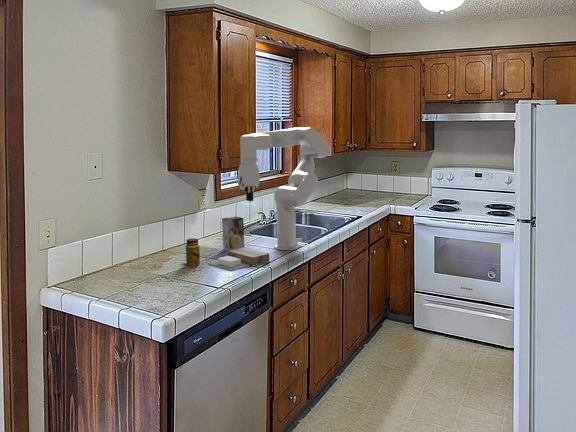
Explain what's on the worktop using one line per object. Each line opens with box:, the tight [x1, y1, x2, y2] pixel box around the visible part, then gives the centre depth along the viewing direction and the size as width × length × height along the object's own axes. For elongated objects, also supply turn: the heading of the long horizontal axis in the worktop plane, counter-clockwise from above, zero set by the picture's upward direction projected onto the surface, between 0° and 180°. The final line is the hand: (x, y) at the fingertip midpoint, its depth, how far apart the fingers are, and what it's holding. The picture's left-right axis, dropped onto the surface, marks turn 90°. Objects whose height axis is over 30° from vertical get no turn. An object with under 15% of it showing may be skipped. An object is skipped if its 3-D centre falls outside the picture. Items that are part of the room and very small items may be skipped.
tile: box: [217, 255, 241, 267], centre depth 247 cm, size 6×9×2 cm, turn 45°
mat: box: [208, 260, 252, 272], centre depth 248 cm, size 12×16×1 cm
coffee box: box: [221, 216, 245, 252], centre depth 277 cm, size 9×6×16 cm
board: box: [227, 246, 270, 267], centre depth 255 cm, size 10×18×4 cm, turn 45°
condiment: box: [181, 237, 202, 269], centre depth 248 cm, size 7×8×12 cm
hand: (249, 200), depth 258 cm, fingers closed
